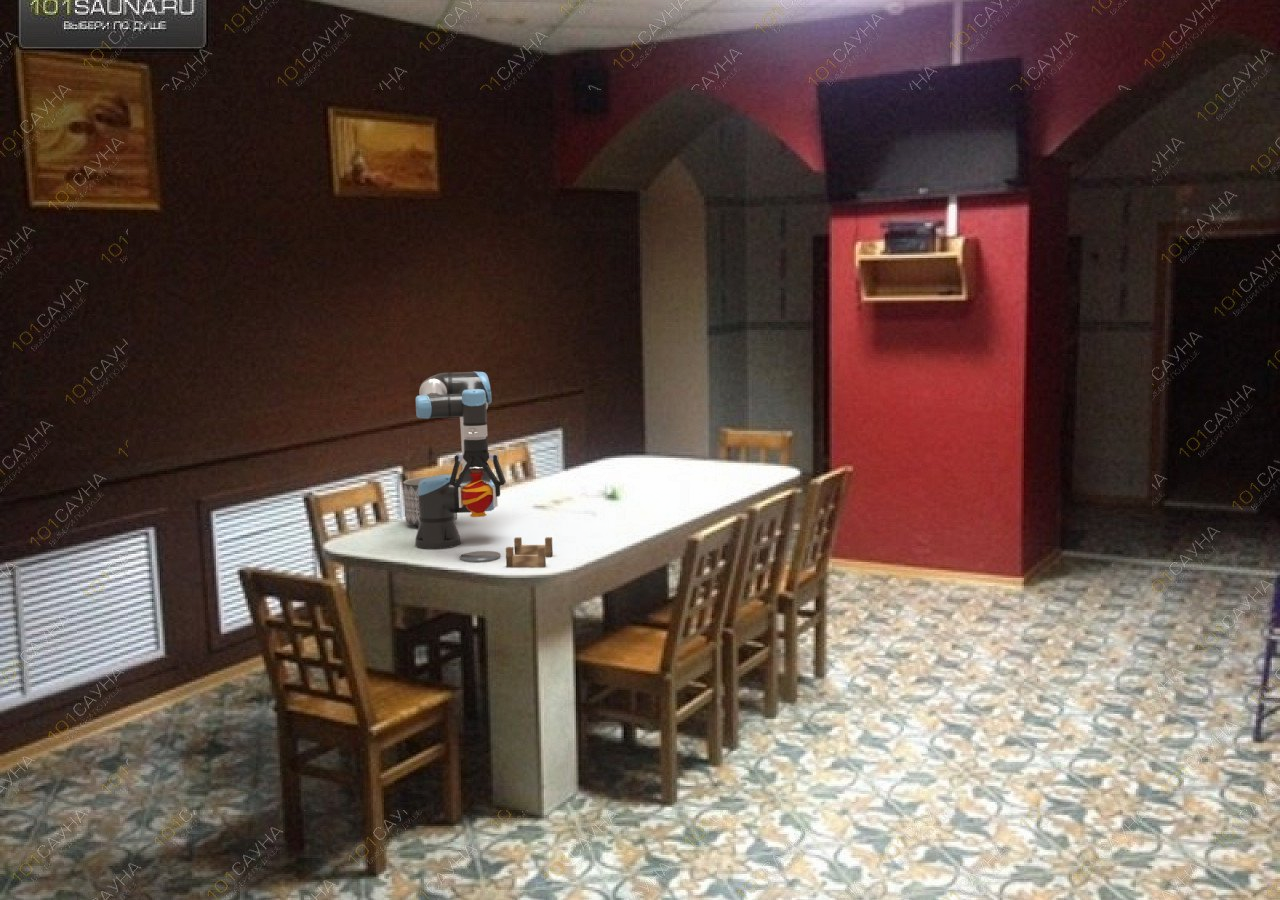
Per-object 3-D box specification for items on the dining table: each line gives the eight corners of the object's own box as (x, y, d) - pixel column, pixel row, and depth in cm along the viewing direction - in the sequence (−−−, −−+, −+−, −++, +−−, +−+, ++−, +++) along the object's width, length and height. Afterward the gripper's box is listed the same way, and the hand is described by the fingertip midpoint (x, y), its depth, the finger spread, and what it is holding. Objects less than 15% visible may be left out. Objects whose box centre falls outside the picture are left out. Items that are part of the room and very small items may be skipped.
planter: (458, 528, 423) (456, 483, 421) (404, 531, 420) (402, 486, 418) (457, 518, 442) (456, 475, 440) (406, 521, 439) (404, 477, 437)
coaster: (455, 562, 370) (455, 560, 370) (465, 553, 382) (465, 550, 382) (496, 562, 369) (496, 559, 368) (504, 553, 381) (504, 550, 381)
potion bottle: (476, 519, 366) (474, 472, 364) (455, 516, 373) (453, 469, 371) (501, 514, 374) (500, 468, 372) (480, 511, 381) (478, 465, 379)
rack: (506, 567, 362) (505, 548, 361) (515, 555, 378) (515, 537, 377) (544, 567, 361) (544, 548, 360) (552, 555, 377) (552, 537, 376)
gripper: (437, 440, 367) (440, 509, 370) (509, 439, 366) (511, 508, 369) (443, 437, 375) (446, 504, 378) (513, 436, 373) (516, 504, 376)
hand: (478, 506), depth 373 cm, fingers closed on potion bottle, 10 cm apart
